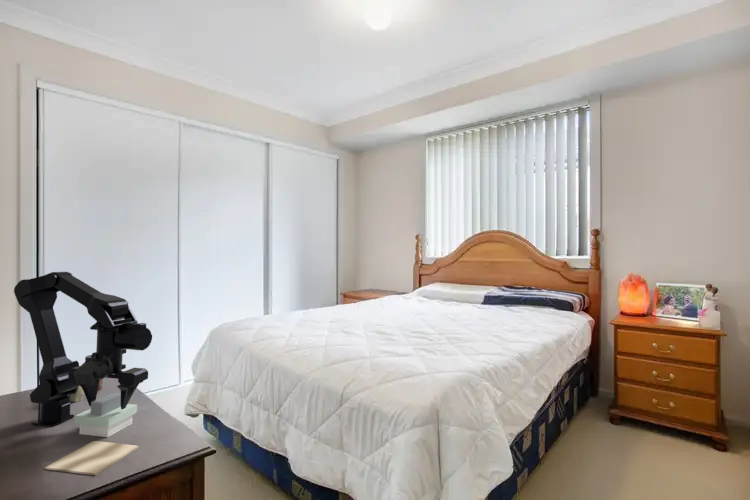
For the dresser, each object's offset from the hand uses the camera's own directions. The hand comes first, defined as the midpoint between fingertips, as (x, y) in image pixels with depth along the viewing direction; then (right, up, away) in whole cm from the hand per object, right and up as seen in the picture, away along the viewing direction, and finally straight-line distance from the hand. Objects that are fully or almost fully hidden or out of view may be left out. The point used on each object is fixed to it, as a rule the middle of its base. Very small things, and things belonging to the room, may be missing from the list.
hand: (107, 407), depth 102 cm
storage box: (0, -6, 0) cm, 6 cm away
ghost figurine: (-23, -5, +18) cm, 30 cm away
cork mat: (+7, -6, -14) cm, 17 cm away
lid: (0, -3, 0) cm, 3 cm away
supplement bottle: (-24, -5, +27) cm, 36 cm away
